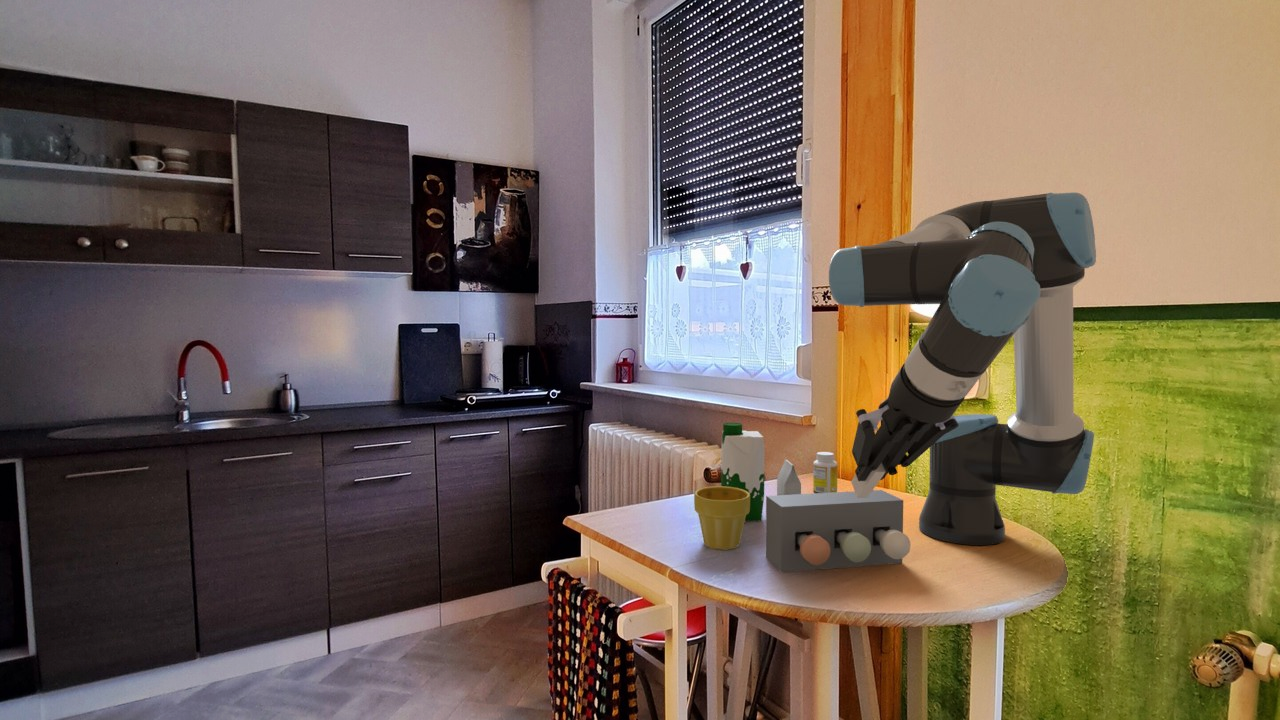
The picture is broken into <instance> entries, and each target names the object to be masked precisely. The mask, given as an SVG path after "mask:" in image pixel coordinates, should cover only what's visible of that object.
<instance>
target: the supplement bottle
mask: <svg viewBox="0 0 1280 720" xmlns="http://www.w3.org/2000/svg"><path fill="white" fill-rule="evenodd" d="M812 466H813V469H812V471H813V475H812V476H813V479H812V480H813V482H812V485H813V489H812V490H813V491H812V492H813V493H812V494H814V493H833V492H838V462H837V461H836V460H835V454H834V453H833V452H830V451H818V452H817V453H816V459H815V460H814V461H813V465H812Z"/></svg>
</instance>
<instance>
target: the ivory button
mask: <svg viewBox="0 0 1280 720" xmlns="http://www.w3.org/2000/svg"><path fill="white" fill-rule="evenodd" d="M873 537H874V539H875V540H876V541H878V542H879V543H880V548H881V550H882V551H883V552H884V553H885V554H886V555H888V556H889V557H891V558H893V559H902V560H903V558H905V557H906V556H907V555H909V552H910V551H911V547H912V545H911V540H910V538H909V537H908V535H907V534H906V533H904V532H903V533H902V532H900V531H898V530H895V529H891V530H888V531H885V530H883V529H880V528H879V529H876V530H875V531H874V533H873Z"/></svg>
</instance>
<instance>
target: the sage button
mask: <svg viewBox="0 0 1280 720" xmlns="http://www.w3.org/2000/svg"><path fill="white" fill-rule="evenodd" d="M835 540H836V542H837V543H839V544H840V548H841V552H842V553H843V555H844V556H846V557H847V558H848V559H850V560H851V561H853V562H861V561H864V560H865V559H866V558H867V557H868V556H869V554H870V551H871V544H870V542H869V540H868V539H867V538H866V537H864V536H863V535H861V534H860V533H858V532H850V533H848V534H847V533H846V532H844V531H839V532H837V534H836V536H835Z"/></svg>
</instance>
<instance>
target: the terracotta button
mask: <svg viewBox="0 0 1280 720" xmlns="http://www.w3.org/2000/svg"><path fill="white" fill-rule="evenodd" d="M796 542H797V544H798V545H799V546H800V553H801V555H802V557H803V558H804V559H806V560H807V561H808V562H809V563H811V564H813V565H820V564H823V563H824V562H826V561H827V559H828V558H829V556H830V545H829V543H828V542H827V541H826V540H825V539H823V538H822V537H820V536H819V535H815V534H812V535H806V534H804V533H801V534H799V535H798V536H797V538H796Z"/></svg>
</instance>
